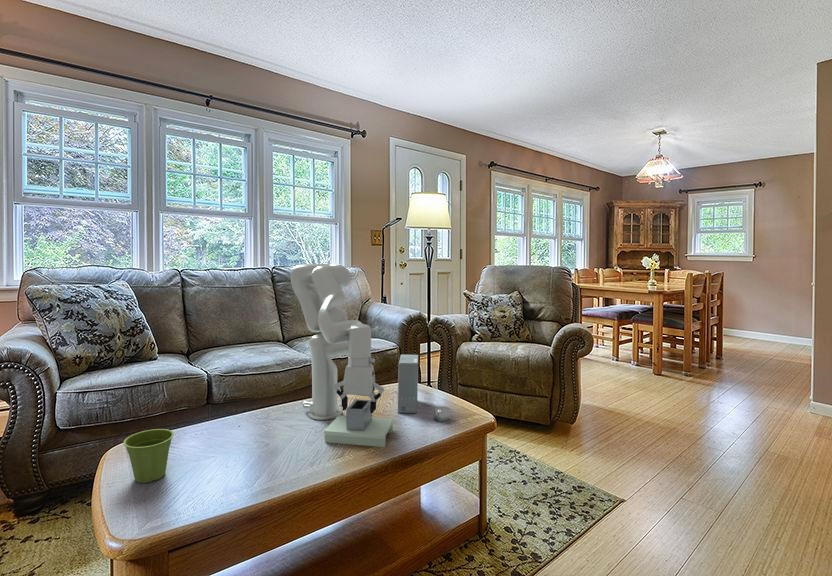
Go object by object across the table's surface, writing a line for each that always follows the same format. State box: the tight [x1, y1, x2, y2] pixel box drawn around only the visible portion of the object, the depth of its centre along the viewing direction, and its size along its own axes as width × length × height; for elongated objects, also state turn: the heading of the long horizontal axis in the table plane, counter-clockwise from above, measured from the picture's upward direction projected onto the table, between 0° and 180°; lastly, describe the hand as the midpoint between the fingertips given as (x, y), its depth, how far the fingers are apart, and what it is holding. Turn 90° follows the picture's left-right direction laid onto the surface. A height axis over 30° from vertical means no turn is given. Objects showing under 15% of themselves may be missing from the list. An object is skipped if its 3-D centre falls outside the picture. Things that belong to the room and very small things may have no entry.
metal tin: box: [433, 406, 451, 424], centre depth 162 cm, size 6×6×4 cm
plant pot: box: [122, 428, 175, 484], centre depth 119 cm, size 12×12×11 cm
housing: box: [345, 398, 373, 431], centre depth 146 cm, size 10×6×7 cm, turn 171°
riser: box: [323, 414, 394, 448], centre depth 147 cm, size 20×14×4 cm
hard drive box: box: [397, 354, 419, 414], centre depth 175 cm, size 16×8×20 cm, turn 179°
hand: (358, 410), depth 147 cm, fingers open, 9 cm apart
